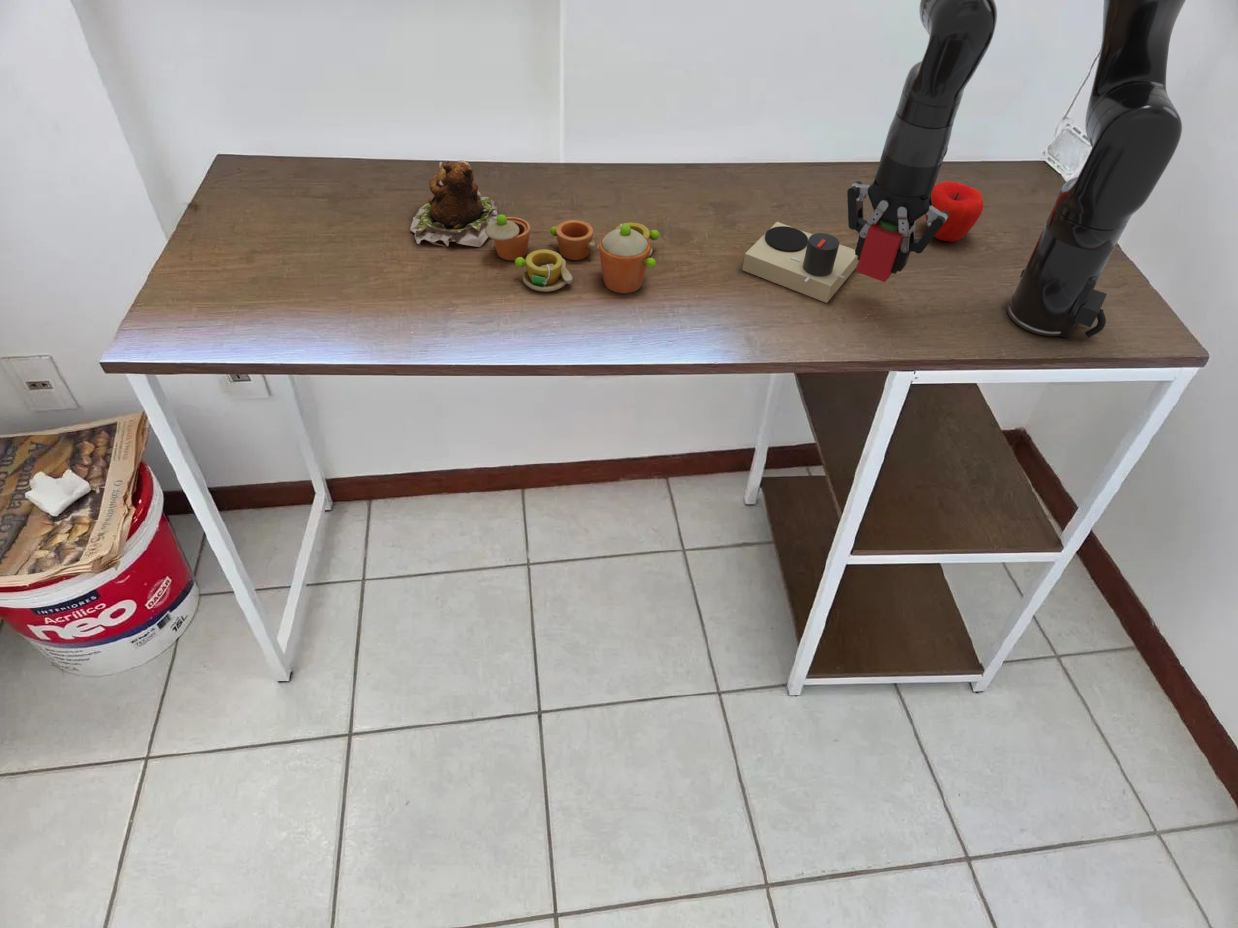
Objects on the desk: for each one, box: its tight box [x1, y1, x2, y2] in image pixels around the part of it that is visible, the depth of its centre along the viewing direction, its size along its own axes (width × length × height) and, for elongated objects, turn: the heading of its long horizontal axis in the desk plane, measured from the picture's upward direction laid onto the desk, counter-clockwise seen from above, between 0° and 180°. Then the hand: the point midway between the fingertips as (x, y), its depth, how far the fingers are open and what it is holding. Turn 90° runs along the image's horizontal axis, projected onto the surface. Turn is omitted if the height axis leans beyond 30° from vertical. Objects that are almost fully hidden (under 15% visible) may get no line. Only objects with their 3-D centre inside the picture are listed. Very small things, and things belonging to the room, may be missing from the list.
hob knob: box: [803, 232, 840, 276], centre depth 127 cm, size 4×4×5 cm
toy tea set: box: [485, 214, 660, 294], centre depth 128 cm, size 26×16×10 cm, turn 93°
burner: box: [764, 226, 808, 252], centre depth 133 cm, size 7×7×1 cm
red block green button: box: [855, 220, 902, 283], centre depth 121 cm, size 4×5×8 cm
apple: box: [924, 180, 985, 243], centre depth 139 cm, size 9×9×8 cm
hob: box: [741, 221, 859, 304], centre depth 132 cm, size 15×12×3 cm
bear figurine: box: [409, 159, 499, 248], centre depth 134 cm, size 14×15×12 cm
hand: (878, 264), depth 123 cm, fingers closed on red block green button, 4 cm apart
